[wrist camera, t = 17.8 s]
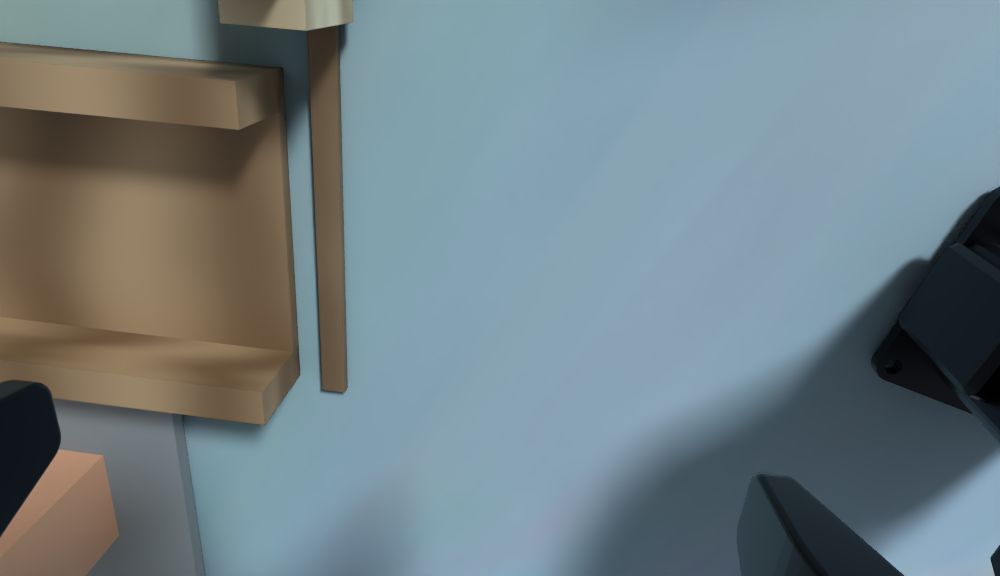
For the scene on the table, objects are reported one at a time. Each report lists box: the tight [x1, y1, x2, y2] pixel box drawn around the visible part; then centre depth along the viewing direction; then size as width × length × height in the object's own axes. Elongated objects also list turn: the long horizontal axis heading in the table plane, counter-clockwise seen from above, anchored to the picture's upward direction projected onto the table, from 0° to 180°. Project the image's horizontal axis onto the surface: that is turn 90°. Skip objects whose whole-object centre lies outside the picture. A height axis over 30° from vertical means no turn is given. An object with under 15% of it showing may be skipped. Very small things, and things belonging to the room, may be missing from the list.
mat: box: [53, 398, 205, 576], centre depth 27 cm, size 10×10×1 cm
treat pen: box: [0, 25, 348, 425], centre depth 19 cm, size 17×22×3 cm
